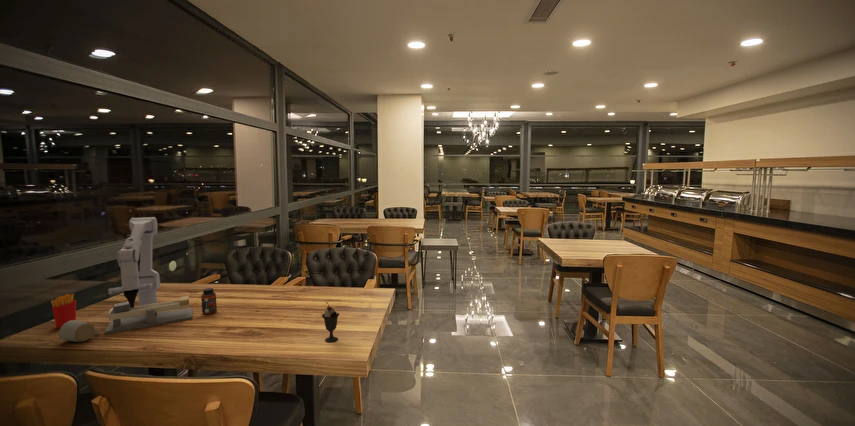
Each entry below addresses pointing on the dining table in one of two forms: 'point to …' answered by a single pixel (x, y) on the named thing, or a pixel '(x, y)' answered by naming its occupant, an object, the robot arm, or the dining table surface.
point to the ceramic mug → (77, 331)
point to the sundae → (330, 322)
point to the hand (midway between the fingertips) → (132, 307)
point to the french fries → (64, 309)
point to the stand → (148, 320)
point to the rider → (122, 307)
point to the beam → (158, 307)
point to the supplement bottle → (208, 301)
